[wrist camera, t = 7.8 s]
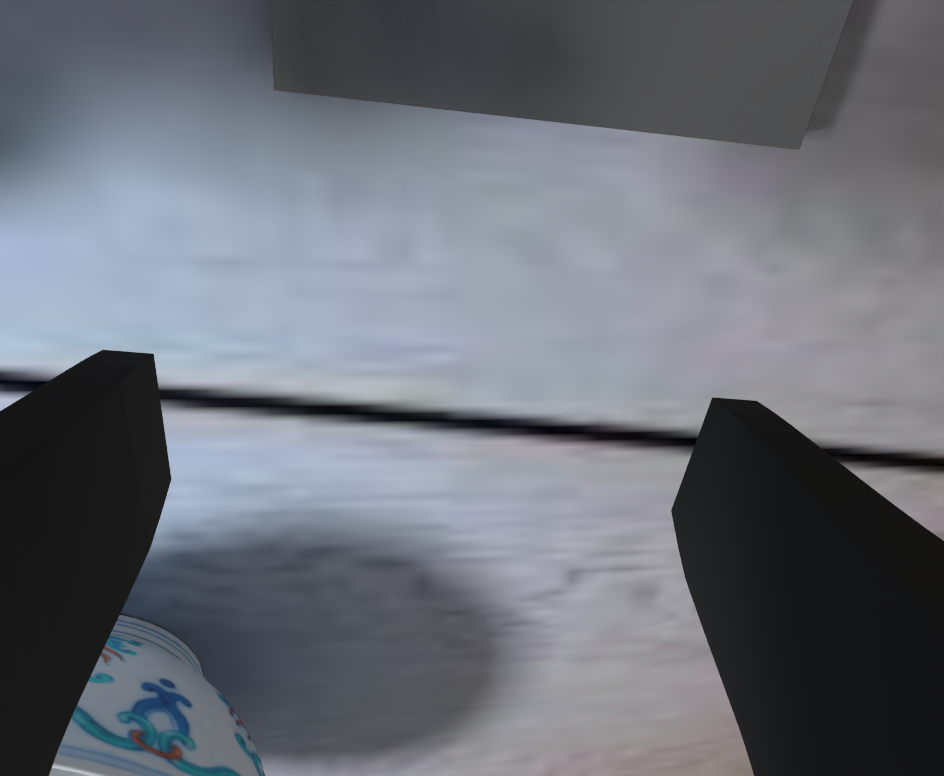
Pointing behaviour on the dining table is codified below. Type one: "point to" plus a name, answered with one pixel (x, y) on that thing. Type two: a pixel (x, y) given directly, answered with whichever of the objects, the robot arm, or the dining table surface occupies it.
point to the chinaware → (153, 714)
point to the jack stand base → (573, 60)
